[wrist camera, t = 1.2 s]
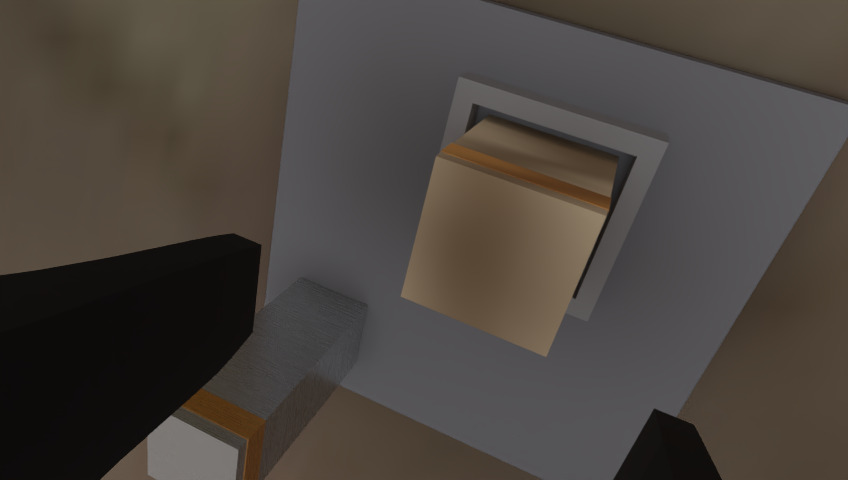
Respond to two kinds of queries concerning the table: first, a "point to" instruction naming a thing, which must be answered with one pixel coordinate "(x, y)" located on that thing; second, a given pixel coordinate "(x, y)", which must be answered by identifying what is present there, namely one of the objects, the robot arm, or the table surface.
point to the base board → (616, 243)
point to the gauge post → (263, 389)
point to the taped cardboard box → (509, 230)
